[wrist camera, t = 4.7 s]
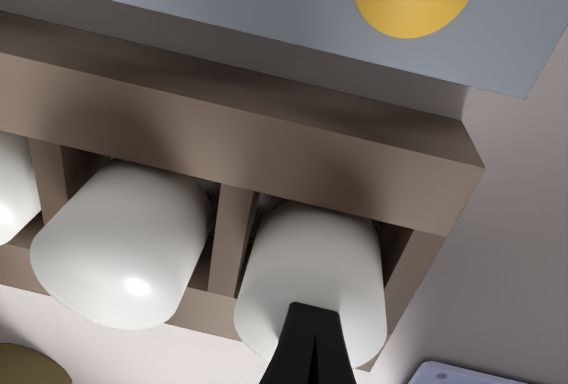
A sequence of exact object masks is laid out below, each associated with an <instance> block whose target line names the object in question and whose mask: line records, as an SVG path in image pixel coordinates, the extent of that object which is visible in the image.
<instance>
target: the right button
mask: <svg viewBox="0 0 568 384" xmlns="http://www.w3.org/2000/svg"><path fill="white" fill-rule="evenodd" d="M292 302H299V303H303V304H308V305H312V306H316V307H320V308H325V309H329V310H333V311H337V312H338V313H339V315H340V320H341V326H342V331H343V336H344V340H345V344H346V348H347V352H348V356H349V360H350V364H351V367H352V369H354V368H356V367H359V366H361V365H363V364H365V363H367V362H368V361H370V360H371V359H372V358H374V357H375V356H376V355H377V354H378V353H379V351H380V350H381V348H382V347H383V345H384V343H385V341H386V336H387V322H386V311H385V299H384V287H383V275H382V263H381V252H380V242H379V237H378V234H377V231H376V229H375V228H374V226H373V224H372V223H371V222H370V220H369V219H368V218H365V217H361V216H357V215H353V214H348V213H344V212H340V211H336V210H332V209H328V208H323V207H319V206H315V205H311V204H307V203H302V202H298V201H294V200H289V201H287V202H284V203H282V204H280V205H278V206H276V207H275V208H274V209H272V210H271V211H270V212H269V213H268V214H267V215H266V216H265V217H264V218H263V220H262V221H261V223H260V225H259V227H258V230H257V233H256V237H255V240H254V244H253V247H252V251H251V254H250V257H249V261H248V264H247V268H246V271H245V275H244V278H243V282H242V285H241V289H240V292H239V295H238V299H237V302H236V306H235V309H234V316H233V319H234V325H235V329H236V331H237V333H238V335H239V337H240V338H241V340H242V341H243V343H244V344H245V345H246V346H247V347H248V348H249V349H250V350H251V351H253V352H254V353H255V354H256V355H258V356H259V357H261V358H263V359H264V360H266V361H268V362H270V361H271V359H272V357H273V354H274V352H275V350H276V348H277V345H278V340H279V337H280V334H281V331H282V328H283V324H284V321H285V318H286V315H287V312H288V308H289V305H290V303H292Z"/></svg>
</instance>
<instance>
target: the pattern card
mask: <svg viewBox="0 0 568 384" xmlns="http://www.w3.org/2000/svg"><path fill="white" fill-rule="evenodd" d="M112 1H116V2H120V3H125V4H129V5H133V6H137V7H141V8H145V9H150V10H154V11H158V12H162V13H166V14H170V15H175V16H179V17H183V18H187V19H191V20H195V21H200V22H204V23H208V24H212V25H216V26H220V27H225V28H229V29H233V30H237V31H241V32H246V33H250V34H254V35H258V36H262V37H266V38H271V39H275V40H279V41H283V42H287V43H291V44H296V45H300V46H304V47H308V48H312V49H316V50H321V51H325V52H329V53H333V54H337V55H341V56H346V57H350V58H354V59H358V60H362V61H367V62H371V63H375V64H379V65H383V66H387V67H392V68H396V69H400V70H404V71H408V72H412V73H417V74H421V75H425V76H429V77H433V78H437V79H442V80H446V81H450V82H454V83H458V84H462V85H467V86H471V87H475V88H479V89H483V90H488V91H492V92H496V93H500V94H504V95H508V96H513V97H517V98H521V99H526V97H527V95H528V93H529V92H530V90H531V88H532V86H533V85H534V83H535V81H536V79H537V78H538V76H539V74H540V72H541V70H542V69H543V67H544V65H545V63H546V62H547V60H548V58H549V56H550V55H551V53H552V51H553V49H554V48H555V46H556V44H557V42H558V41H559V39H560V37H561V35H562V34H563V32H564V30H565V28H566V27H567V25H568V0H112Z"/></svg>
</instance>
